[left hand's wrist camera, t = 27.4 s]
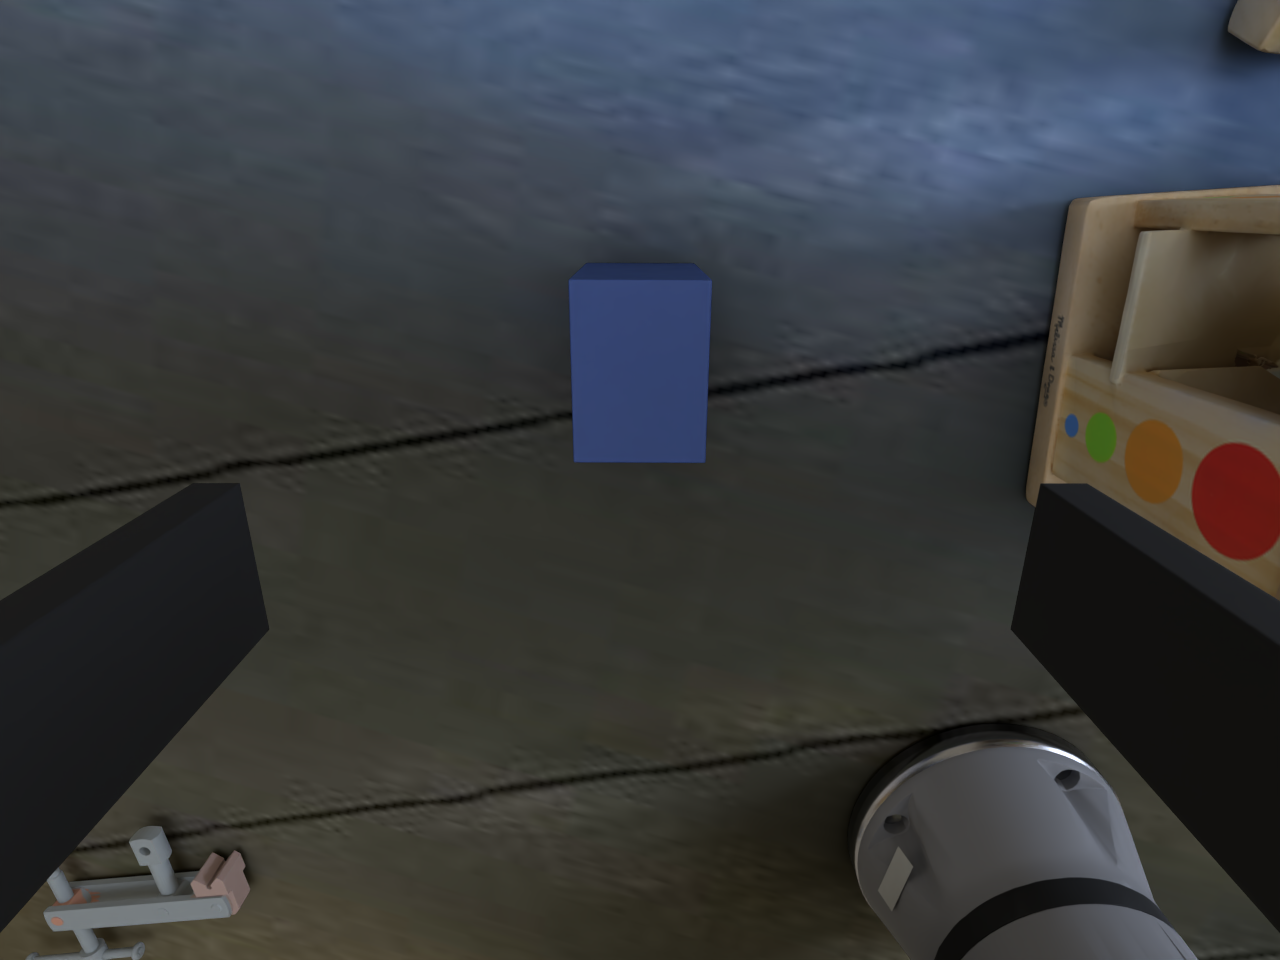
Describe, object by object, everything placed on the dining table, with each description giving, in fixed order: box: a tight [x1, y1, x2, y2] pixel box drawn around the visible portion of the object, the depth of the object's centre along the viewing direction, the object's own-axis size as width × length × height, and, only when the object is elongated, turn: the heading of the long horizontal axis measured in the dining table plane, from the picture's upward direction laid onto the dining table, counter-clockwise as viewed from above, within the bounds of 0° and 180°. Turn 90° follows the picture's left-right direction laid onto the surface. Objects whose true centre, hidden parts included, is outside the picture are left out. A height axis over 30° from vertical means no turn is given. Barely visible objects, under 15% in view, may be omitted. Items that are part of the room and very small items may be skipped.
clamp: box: [26, 826, 250, 960], centre depth 44 cm, size 15×2×10 cm
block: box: [568, 263, 712, 463], centre depth 30 cm, size 5×7×8 cm
